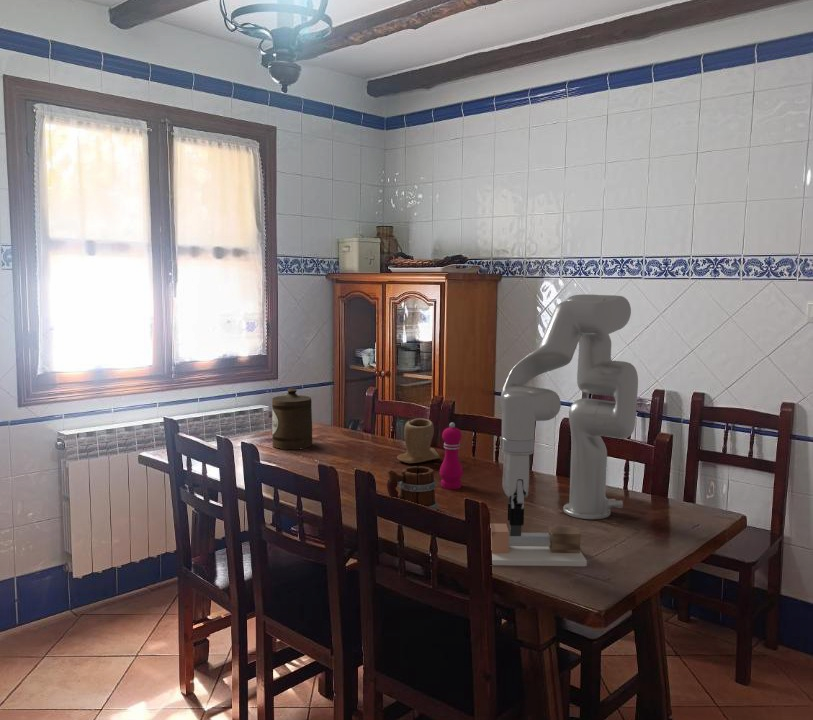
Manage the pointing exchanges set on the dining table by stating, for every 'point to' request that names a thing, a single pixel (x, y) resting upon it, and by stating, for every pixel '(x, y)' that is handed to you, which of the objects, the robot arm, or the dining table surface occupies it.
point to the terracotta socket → (499, 538)
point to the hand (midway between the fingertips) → (515, 522)
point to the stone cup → (418, 441)
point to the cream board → (537, 557)
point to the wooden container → (292, 421)
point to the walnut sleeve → (564, 540)
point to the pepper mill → (451, 458)
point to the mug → (414, 485)
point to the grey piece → (528, 537)
